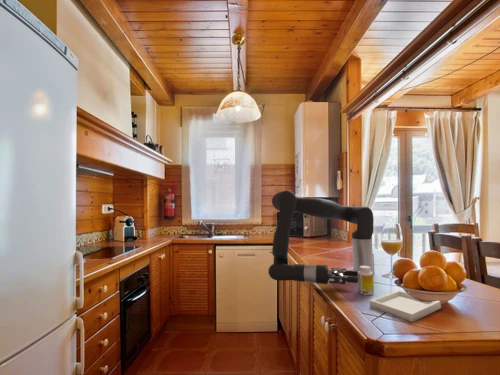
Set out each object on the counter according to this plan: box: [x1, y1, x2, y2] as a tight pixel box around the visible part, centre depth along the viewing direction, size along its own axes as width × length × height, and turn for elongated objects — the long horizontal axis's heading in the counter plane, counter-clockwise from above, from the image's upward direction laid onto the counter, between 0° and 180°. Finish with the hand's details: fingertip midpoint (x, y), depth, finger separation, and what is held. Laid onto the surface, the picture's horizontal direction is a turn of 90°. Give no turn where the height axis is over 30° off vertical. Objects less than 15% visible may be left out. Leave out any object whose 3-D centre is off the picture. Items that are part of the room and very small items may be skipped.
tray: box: [369, 289, 442, 323], centre depth 90 cm, size 18×14×2 cm
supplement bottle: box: [357, 266, 375, 296], centre depth 105 cm, size 6×6×10 cm
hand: (357, 276), depth 106 cm, fingers open, 8 cm apart
